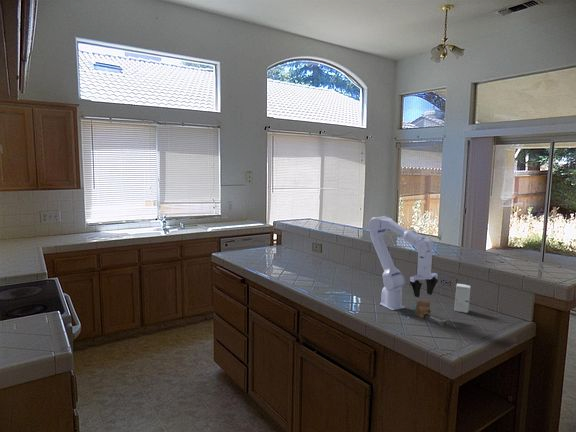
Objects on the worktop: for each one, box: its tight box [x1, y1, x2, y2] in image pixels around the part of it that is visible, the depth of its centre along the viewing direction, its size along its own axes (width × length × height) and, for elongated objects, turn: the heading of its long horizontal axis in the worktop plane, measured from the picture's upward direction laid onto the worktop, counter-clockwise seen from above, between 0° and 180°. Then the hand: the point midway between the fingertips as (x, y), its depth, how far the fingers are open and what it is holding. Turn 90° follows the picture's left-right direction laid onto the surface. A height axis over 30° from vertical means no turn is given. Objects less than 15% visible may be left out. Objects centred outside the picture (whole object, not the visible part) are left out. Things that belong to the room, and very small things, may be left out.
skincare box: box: [453, 283, 472, 314], centre depth 179 cm, size 6×4×12 cm
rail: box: [413, 304, 448, 327], centre depth 169 cm, size 16×3×4 cm, turn 26°
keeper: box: [414, 299, 431, 319], centre depth 173 cm, size 4×5×6 cm
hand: (423, 295), depth 172 cm, fingers open, 7 cm apart
